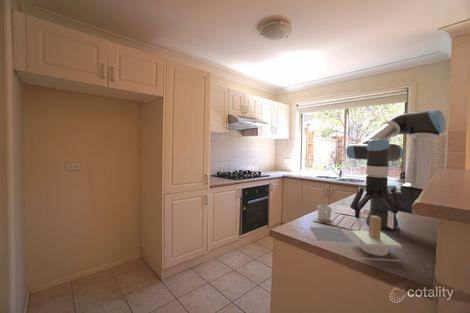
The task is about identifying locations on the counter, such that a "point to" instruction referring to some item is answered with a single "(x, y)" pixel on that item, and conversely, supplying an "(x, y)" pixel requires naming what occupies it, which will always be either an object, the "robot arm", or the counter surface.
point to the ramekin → (375, 250)
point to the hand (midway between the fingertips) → (374, 226)
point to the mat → (330, 234)
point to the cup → (324, 212)
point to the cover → (375, 235)
